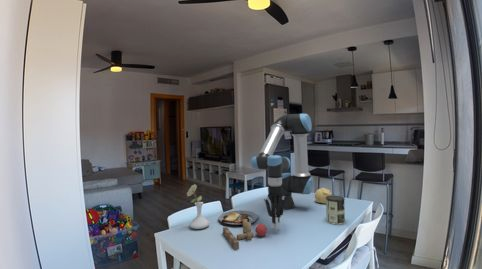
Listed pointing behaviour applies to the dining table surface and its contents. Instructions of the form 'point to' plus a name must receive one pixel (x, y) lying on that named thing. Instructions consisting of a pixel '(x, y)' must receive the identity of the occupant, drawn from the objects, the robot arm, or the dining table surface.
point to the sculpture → (322, 195)
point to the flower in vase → (199, 220)
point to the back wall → (231, 238)
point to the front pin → (244, 236)
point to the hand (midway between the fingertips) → (276, 228)
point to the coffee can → (335, 209)
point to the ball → (261, 229)
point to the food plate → (237, 217)
